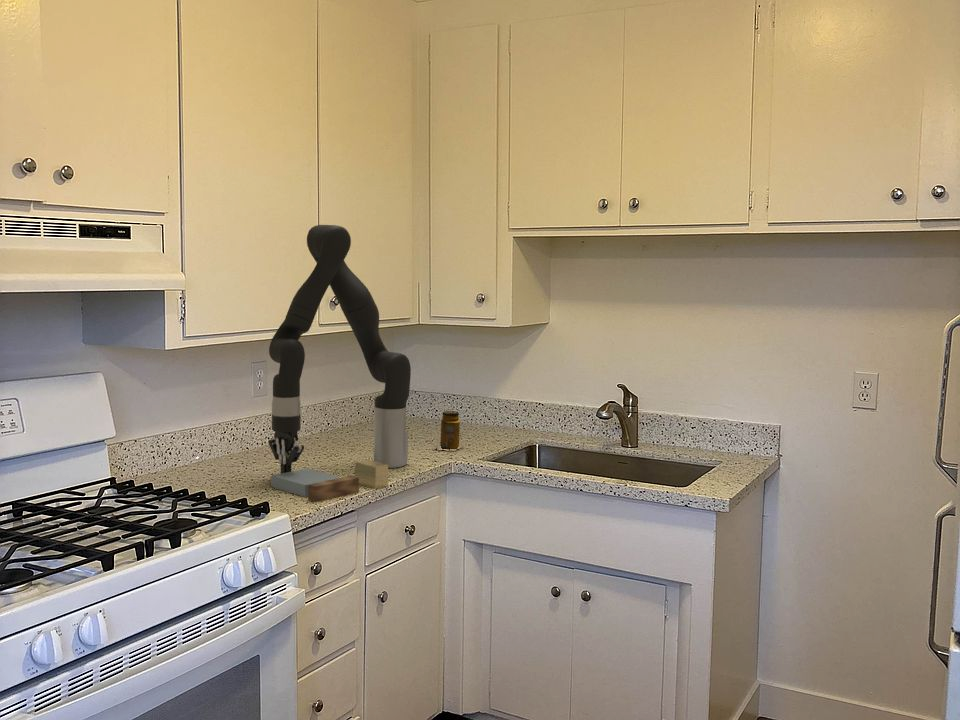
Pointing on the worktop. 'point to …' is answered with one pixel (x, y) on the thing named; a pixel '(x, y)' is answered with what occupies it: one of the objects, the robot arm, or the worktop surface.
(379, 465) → the block
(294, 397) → the robot arm
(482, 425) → the worktop surface
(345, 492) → the block
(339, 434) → the worktop surface
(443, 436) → the condiment
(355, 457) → the worktop surface
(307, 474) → the flat grey square tile
